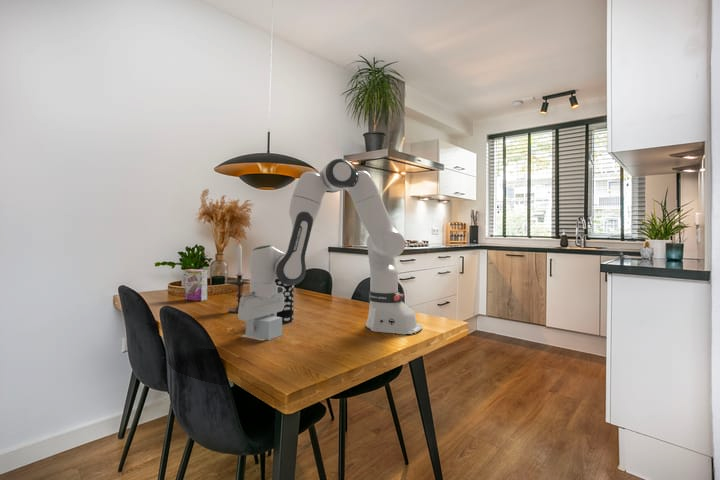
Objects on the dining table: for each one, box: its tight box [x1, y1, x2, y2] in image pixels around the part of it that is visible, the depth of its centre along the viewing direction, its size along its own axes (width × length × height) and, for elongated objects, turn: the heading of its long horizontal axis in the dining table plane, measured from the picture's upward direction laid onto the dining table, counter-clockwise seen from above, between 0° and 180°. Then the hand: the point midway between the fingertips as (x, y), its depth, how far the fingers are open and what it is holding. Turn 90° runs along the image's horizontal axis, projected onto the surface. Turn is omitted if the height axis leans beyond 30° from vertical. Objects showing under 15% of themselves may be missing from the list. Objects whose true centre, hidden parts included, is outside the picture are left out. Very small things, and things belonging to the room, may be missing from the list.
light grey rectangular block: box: [245, 315, 283, 341], centre depth 131 cm, size 11×7×6 cm, turn 62°
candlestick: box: [226, 237, 250, 314], centre depth 170 cm, size 11×11×35 cm
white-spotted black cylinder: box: [275, 279, 295, 324], centre depth 152 cm, size 8×8×20 cm
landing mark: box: [241, 334, 266, 342], centre depth 132 cm, size 10×10×1 cm
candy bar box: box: [184, 268, 208, 302], centre depth 195 cm, size 11×5×16 cm, turn 72°
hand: (262, 327), depth 132 cm, fingers open, 8 cm apart
